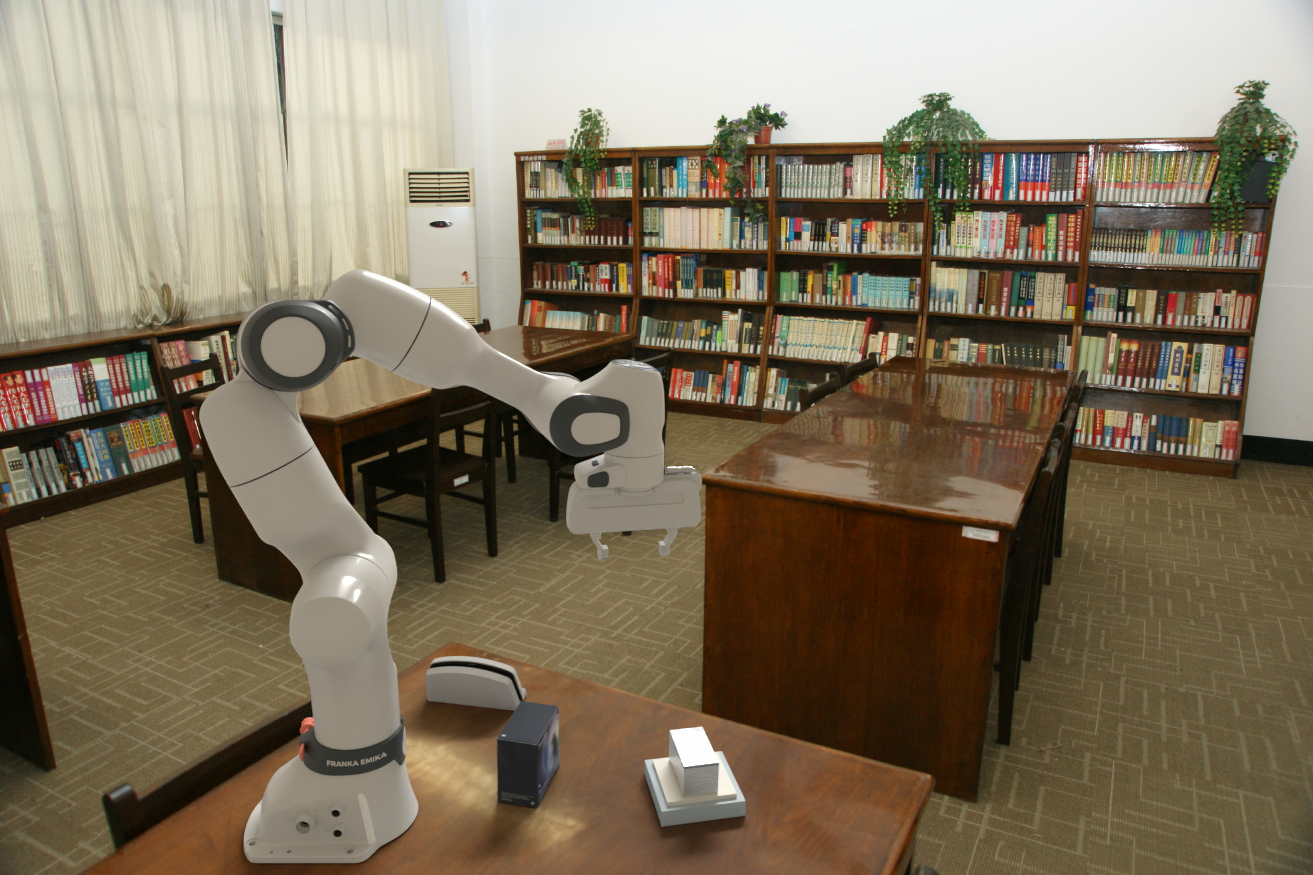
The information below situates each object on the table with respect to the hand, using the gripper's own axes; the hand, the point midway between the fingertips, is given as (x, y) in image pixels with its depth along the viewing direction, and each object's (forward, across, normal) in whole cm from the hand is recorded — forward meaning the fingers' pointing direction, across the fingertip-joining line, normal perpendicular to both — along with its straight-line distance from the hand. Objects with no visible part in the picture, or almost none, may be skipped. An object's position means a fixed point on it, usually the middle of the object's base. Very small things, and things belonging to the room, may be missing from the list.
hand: (633, 555), depth 137 cm
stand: (+31, -6, +16) cm, 35 cm away
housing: (+28, -6, +16) cm, 33 cm away
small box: (+31, +17, +9) cm, 37 cm away
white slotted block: (+32, +25, -15) cm, 43 cm away
